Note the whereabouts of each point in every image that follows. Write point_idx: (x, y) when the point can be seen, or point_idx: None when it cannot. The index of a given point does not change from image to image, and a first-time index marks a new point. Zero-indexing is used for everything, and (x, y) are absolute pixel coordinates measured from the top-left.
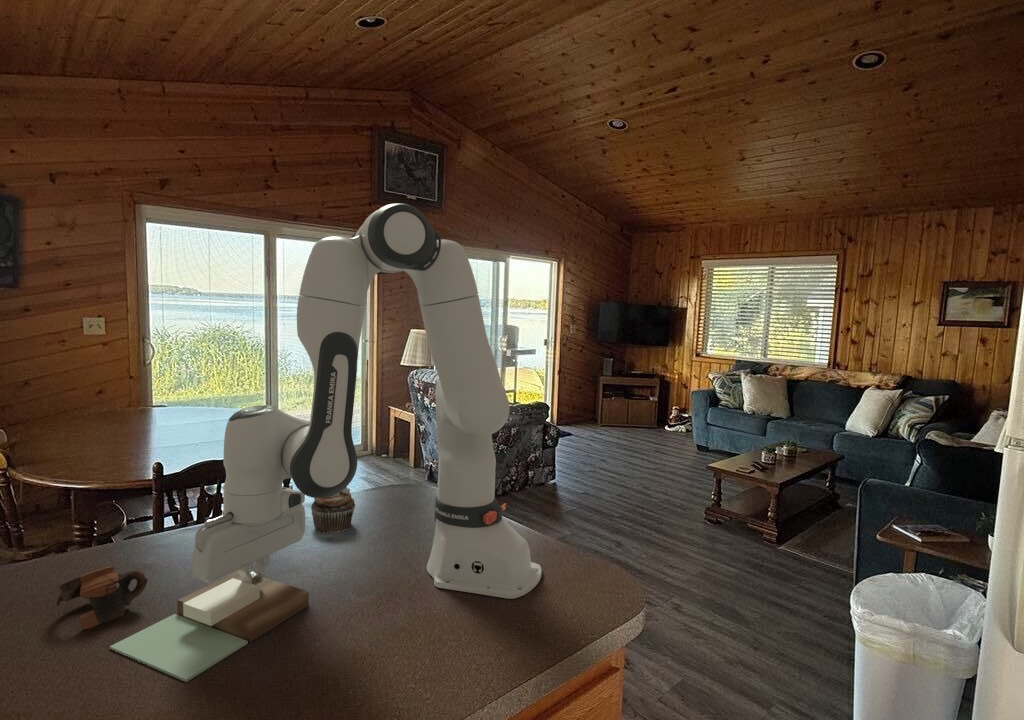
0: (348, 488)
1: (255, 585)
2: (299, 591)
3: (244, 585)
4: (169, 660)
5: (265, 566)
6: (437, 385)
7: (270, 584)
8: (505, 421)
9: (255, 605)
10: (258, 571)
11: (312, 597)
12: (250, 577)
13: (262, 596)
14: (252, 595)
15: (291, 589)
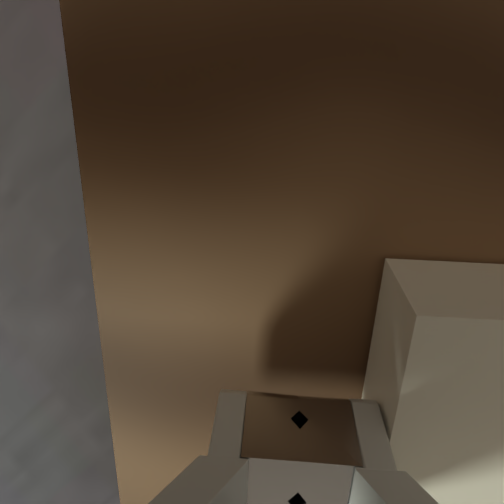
0: None
1: (407, 364)
2: (109, 19)
3: (439, 442)
4: None
5: (177, 501)
6: None
7: (158, 340)
8: None
9: (492, 208)
10: (241, 495)
11: (3, 29)
12: (390, 480)
13: (340, 264)
14: (488, 293)
15: (123, 129)
